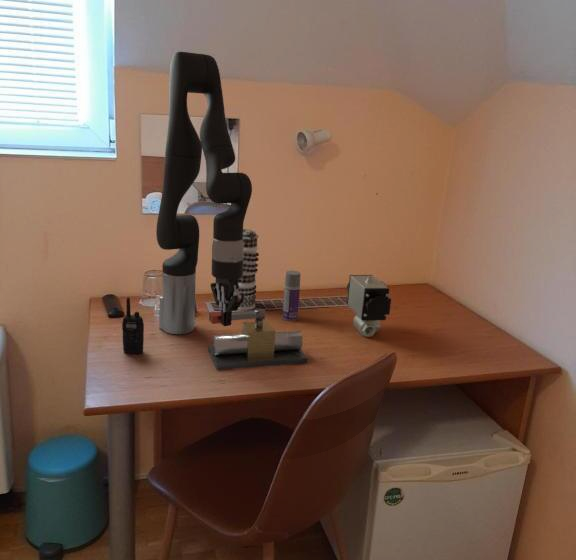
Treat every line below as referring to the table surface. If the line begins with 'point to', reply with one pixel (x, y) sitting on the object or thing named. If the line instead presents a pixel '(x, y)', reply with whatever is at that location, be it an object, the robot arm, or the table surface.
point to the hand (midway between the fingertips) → (226, 324)
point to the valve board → (258, 360)
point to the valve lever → (238, 315)
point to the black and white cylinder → (248, 270)
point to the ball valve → (368, 302)
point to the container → (291, 295)
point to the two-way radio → (132, 331)
